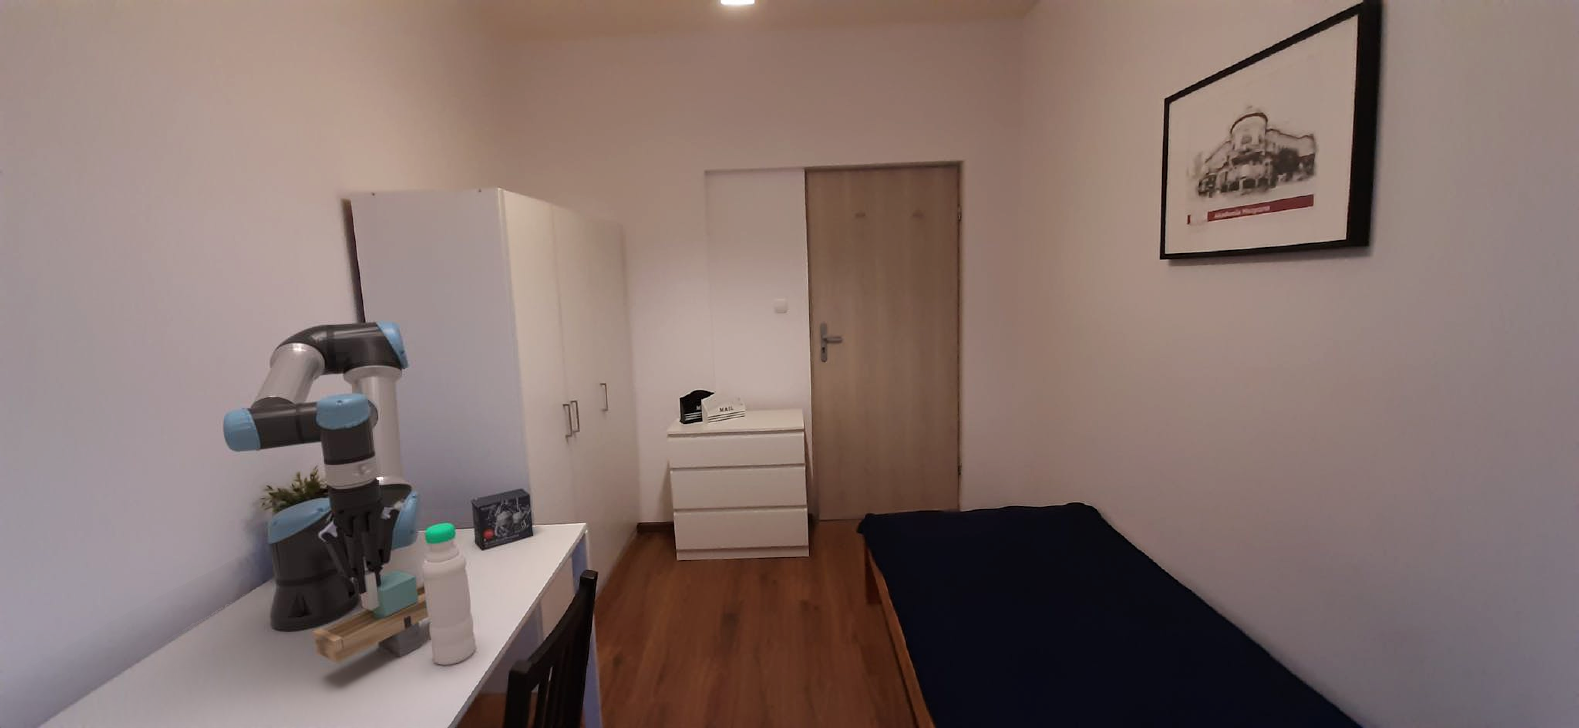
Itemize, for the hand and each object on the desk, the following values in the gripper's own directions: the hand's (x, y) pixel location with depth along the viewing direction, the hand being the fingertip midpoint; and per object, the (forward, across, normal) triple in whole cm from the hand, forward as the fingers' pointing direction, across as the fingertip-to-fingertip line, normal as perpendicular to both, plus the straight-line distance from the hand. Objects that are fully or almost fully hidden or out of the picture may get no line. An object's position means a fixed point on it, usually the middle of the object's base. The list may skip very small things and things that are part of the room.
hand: (370, 606), depth 115 cm
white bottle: (+11, +7, -12) cm, 17 cm away
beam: (+10, +4, 0) cm, 11 cm away
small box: (+11, +46, +24) cm, 53 cm away
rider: (+3, +4, 0) cm, 5 cm away
